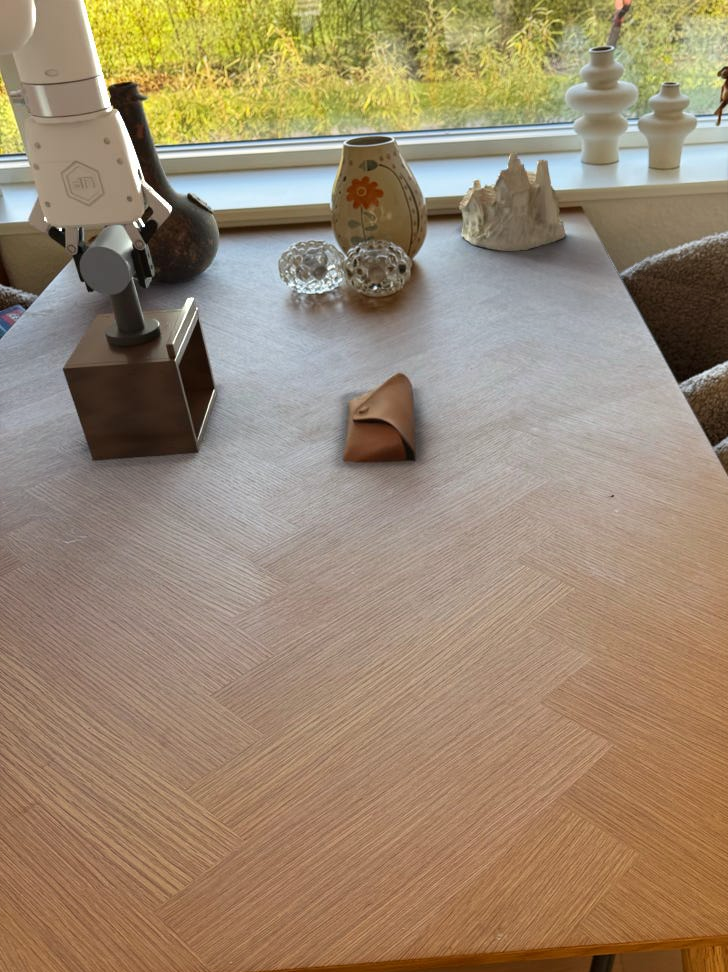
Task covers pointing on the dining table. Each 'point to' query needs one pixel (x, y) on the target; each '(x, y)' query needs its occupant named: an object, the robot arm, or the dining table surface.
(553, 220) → the ceramic cottage
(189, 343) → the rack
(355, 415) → the sunglasses case
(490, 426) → the dining table surface
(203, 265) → the glass bottle
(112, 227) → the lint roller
